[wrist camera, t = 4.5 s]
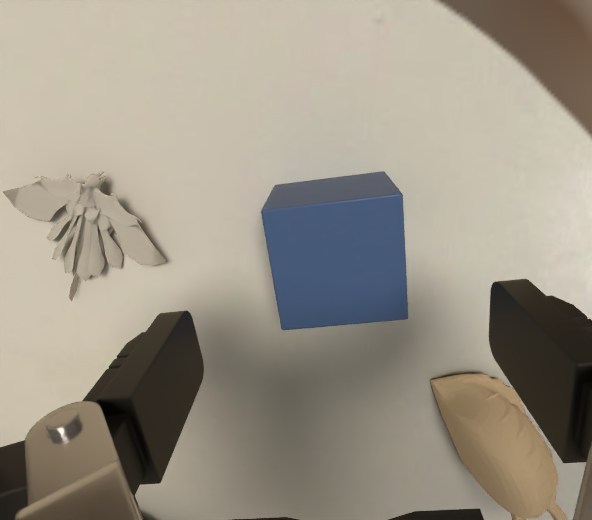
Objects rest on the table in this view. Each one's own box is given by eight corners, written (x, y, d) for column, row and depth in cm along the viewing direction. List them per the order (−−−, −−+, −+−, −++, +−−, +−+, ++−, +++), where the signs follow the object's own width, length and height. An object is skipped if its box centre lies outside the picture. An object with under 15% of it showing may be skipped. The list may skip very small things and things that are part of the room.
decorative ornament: (505, 353, 21) (560, 431, 17) (538, 467, 24) (593, 563, 19) (429, 376, 22) (459, 456, 17) (468, 483, 25) (504, 580, 20)
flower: (154, 316, 23) (131, 350, 21) (13, 258, 22) (-27, 287, 20) (189, 203, 19) (166, 228, 17) (21, 128, 18) (-28, 144, 16)
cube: (384, 171, 18) (402, 193, 14) (390, 273, 20) (408, 319, 16) (274, 184, 19) (260, 210, 15) (289, 283, 21) (281, 330, 17)
